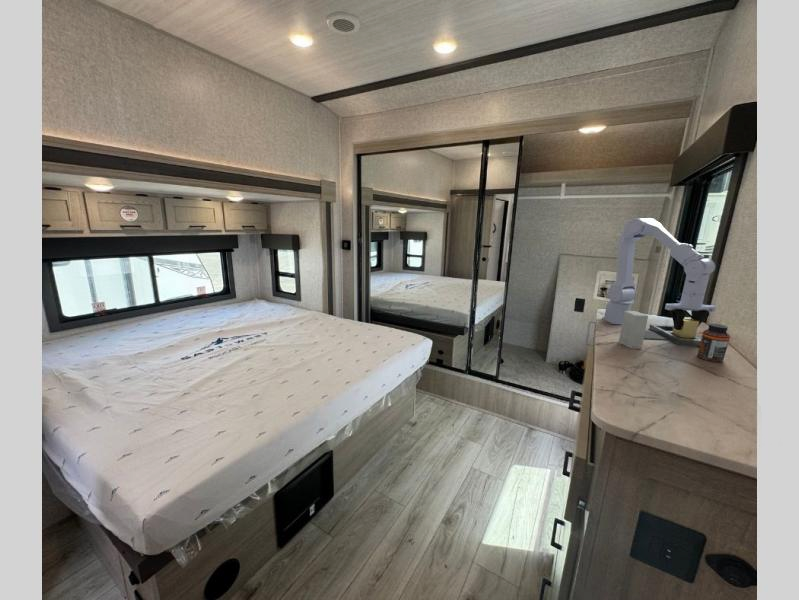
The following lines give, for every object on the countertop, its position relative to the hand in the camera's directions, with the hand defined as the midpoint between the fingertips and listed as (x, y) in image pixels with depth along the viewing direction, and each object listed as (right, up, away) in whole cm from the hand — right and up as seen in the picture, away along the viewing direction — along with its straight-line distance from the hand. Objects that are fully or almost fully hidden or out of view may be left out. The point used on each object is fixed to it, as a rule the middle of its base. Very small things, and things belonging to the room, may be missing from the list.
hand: (684, 329), depth 110 cm
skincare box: (-22, -6, -3) cm, 23 cm away
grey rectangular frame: (+1, -3, +5) cm, 6 cm away
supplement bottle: (-5, -8, -13) cm, 16 cm away
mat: (-9, -3, +7) cm, 11 cm away
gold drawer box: (0, -2, +1) cm, 2 cm away
